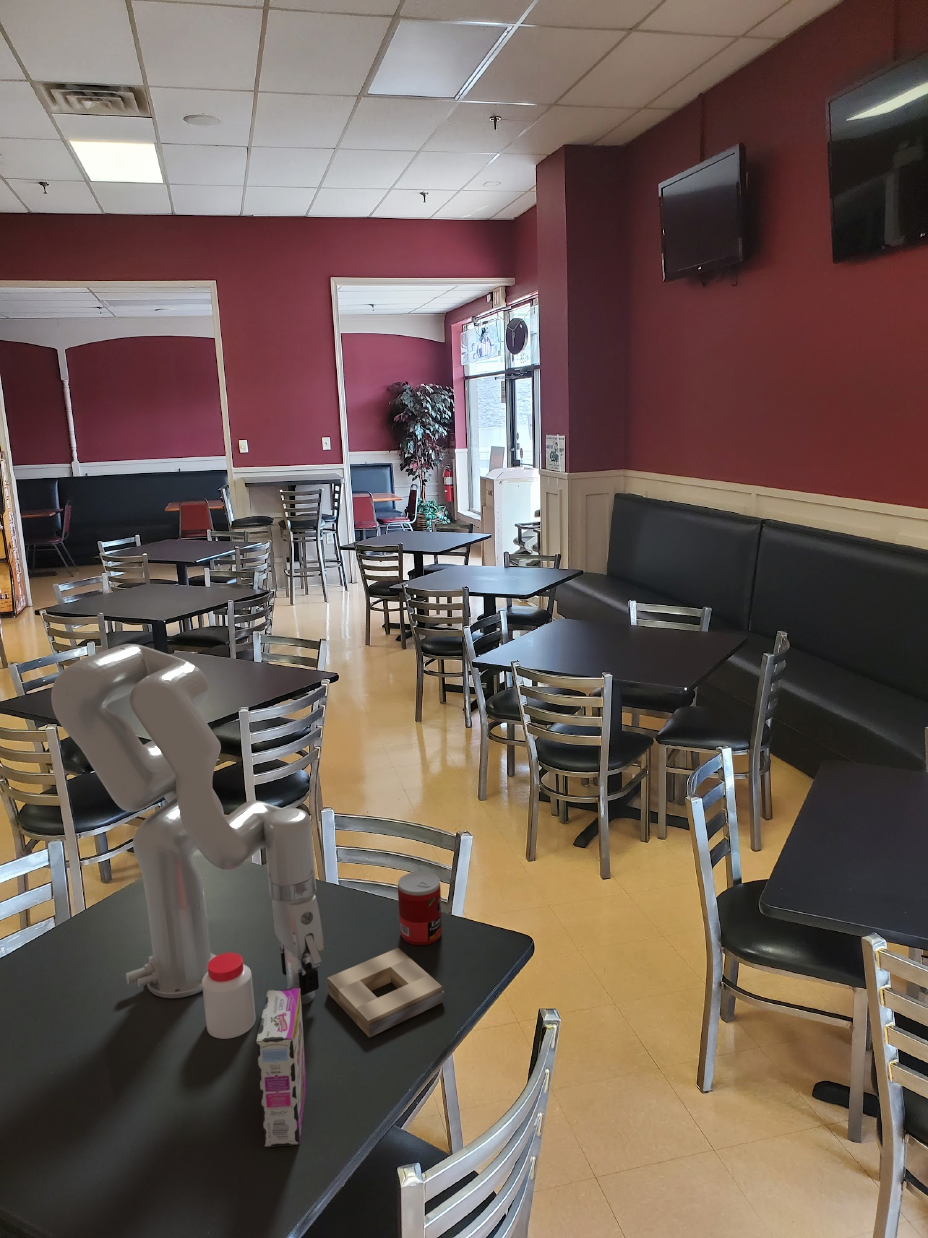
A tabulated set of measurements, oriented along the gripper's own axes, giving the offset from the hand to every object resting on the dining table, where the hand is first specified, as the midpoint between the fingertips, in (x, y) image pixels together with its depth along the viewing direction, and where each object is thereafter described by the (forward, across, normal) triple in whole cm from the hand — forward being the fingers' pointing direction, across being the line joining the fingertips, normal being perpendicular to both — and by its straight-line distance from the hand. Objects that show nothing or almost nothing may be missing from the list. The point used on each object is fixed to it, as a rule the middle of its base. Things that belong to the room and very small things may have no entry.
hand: (300, 980), depth 148 cm
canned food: (+3, +3, -26) cm, 26 cm away
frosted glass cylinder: (+3, 0, 0) cm, 3 cm away
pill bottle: (+3, +1, +12) cm, 12 cm away
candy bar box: (+3, -23, +13) cm, 27 cm away
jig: (+3, -9, -11) cm, 15 cm away
